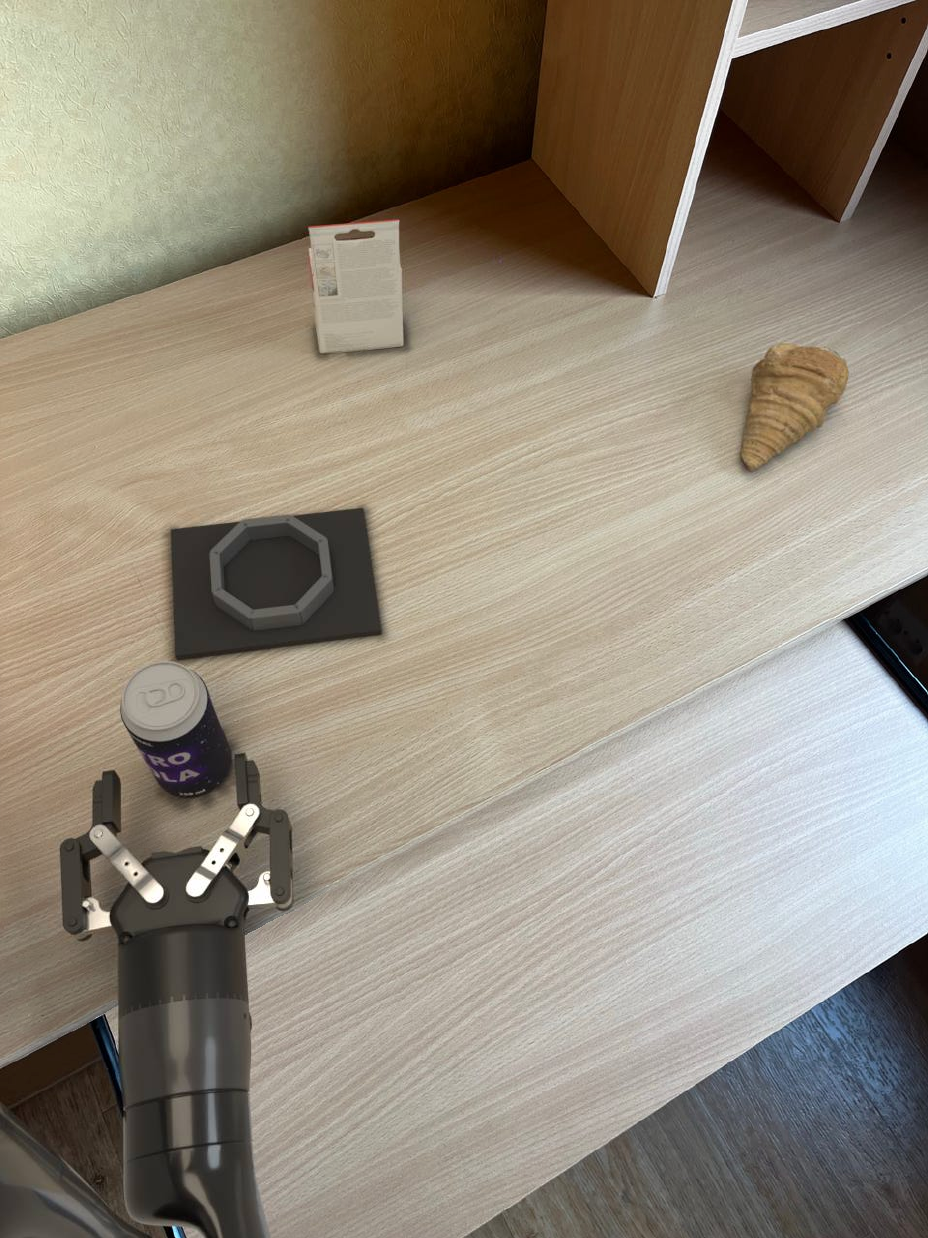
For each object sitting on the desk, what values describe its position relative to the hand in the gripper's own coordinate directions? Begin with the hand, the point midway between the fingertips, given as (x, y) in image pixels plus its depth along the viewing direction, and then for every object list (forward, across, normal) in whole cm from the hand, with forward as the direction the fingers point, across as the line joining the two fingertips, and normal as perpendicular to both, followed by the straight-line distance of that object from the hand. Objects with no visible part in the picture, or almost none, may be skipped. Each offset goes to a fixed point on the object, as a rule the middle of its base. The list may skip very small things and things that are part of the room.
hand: (176, 765), depth 71 cm
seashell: (+29, -54, +7) cm, 62 cm away
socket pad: (+18, -7, +7) cm, 20 cm away
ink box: (+44, -17, +7) cm, 48 cm away
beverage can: (+3, 0, +7) cm, 8 cm away
